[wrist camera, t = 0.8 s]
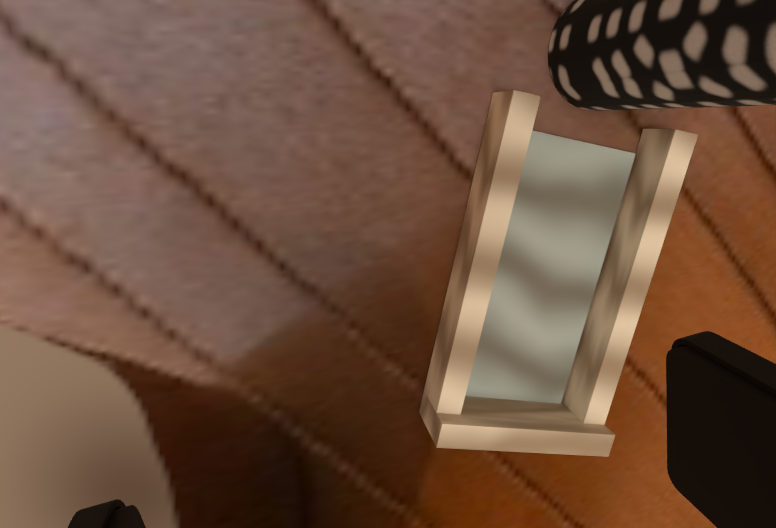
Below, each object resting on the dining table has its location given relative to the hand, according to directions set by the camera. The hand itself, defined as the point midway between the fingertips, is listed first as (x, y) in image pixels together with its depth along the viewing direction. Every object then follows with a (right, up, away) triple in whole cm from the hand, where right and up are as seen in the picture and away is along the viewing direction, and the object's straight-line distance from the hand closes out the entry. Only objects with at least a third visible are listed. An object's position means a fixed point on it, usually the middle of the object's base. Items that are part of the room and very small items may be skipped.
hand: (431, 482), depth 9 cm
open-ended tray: (+12, +4, +33) cm, 35 cm away
